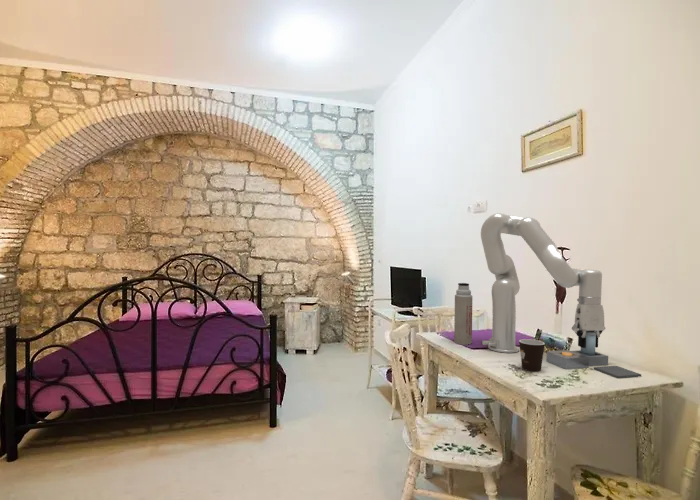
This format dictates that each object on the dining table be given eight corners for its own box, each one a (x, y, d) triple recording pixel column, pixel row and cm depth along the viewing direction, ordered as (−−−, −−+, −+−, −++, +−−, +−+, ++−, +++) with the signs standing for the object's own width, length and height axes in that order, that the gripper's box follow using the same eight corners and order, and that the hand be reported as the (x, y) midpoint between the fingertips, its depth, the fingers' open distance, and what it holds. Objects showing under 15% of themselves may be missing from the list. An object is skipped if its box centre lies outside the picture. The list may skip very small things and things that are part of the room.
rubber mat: (617, 378, 134) (617, 376, 134) (593, 369, 144) (593, 367, 144) (641, 376, 136) (641, 374, 136) (616, 367, 146) (616, 365, 146)
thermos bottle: (475, 343, 180) (476, 283, 180) (462, 345, 177) (463, 284, 176) (463, 339, 187) (463, 282, 187) (450, 341, 184) (451, 282, 183)
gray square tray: (588, 366, 148) (588, 357, 148) (570, 359, 156) (570, 350, 156) (608, 364, 149) (608, 355, 149) (589, 358, 158) (589, 349, 158)
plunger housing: (565, 369, 144) (565, 358, 144) (546, 361, 153) (546, 351, 153) (588, 367, 146) (588, 357, 146) (568, 359, 156) (568, 350, 155)
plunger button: (566, 363, 147) (566, 354, 147) (559, 361, 151) (559, 352, 151) (574, 363, 148) (574, 354, 148) (567, 360, 152) (567, 351, 152)
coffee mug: (545, 373, 138) (546, 346, 138) (519, 370, 141) (519, 343, 141) (541, 364, 149) (542, 338, 149) (517, 362, 152) (518, 336, 152)
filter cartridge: (587, 358, 150) (588, 332, 150) (576, 354, 155) (577, 329, 155) (598, 358, 151) (599, 332, 151) (587, 354, 156) (588, 329, 156)
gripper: (578, 302, 147) (576, 350, 148) (616, 302, 151) (614, 348, 151) (563, 299, 155) (562, 345, 155) (599, 299, 158) (598, 343, 158)
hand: (587, 346), depth 153 cm, fingers closed on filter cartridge, 5 cm apart
